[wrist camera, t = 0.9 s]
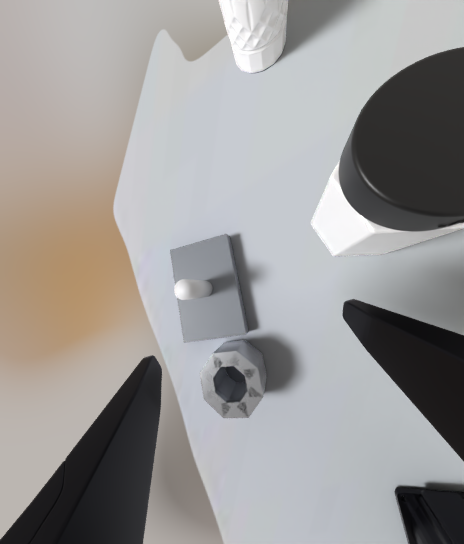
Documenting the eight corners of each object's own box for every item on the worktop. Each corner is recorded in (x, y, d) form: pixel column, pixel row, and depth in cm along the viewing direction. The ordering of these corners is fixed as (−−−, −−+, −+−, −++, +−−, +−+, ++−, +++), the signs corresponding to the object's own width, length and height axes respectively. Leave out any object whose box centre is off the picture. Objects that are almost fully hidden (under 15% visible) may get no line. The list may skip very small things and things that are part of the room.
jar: (372, 274, 19) (510, 257, 7) (298, 240, 21) (317, 186, 10) (419, 197, 18) (651, 46, 7) (339, 170, 21) (410, 22, 9)
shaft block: (248, 331, 22) (234, 349, 16) (189, 339, 24) (157, 358, 18) (229, 237, 23) (210, 219, 17) (176, 252, 25) (141, 241, 19)
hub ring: (270, 393, 21) (267, 417, 17) (220, 395, 22) (206, 418, 18) (259, 337, 22) (253, 348, 18) (211, 343, 23) (196, 355, 19)
